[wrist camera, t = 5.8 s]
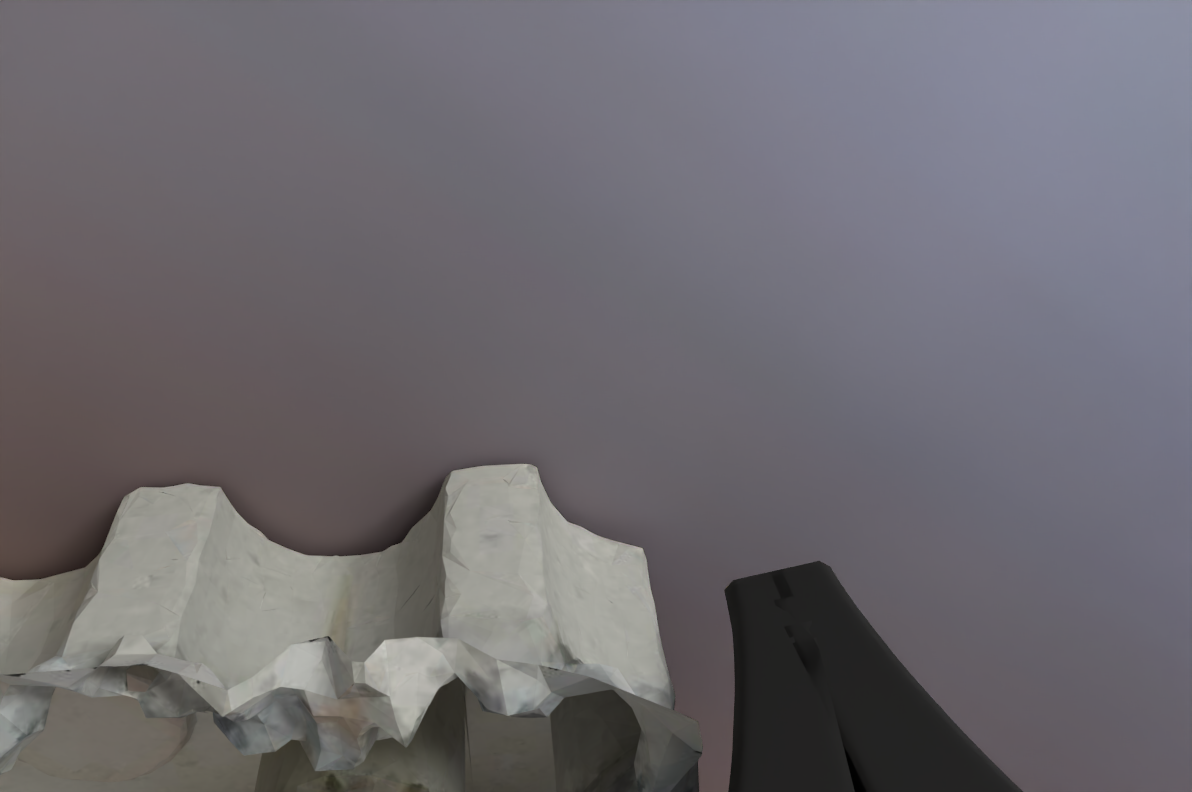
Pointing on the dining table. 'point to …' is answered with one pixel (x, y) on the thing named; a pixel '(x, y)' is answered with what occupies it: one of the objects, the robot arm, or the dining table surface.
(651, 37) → the dining table surface
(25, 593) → the egg carton
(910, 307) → the dining table surface
